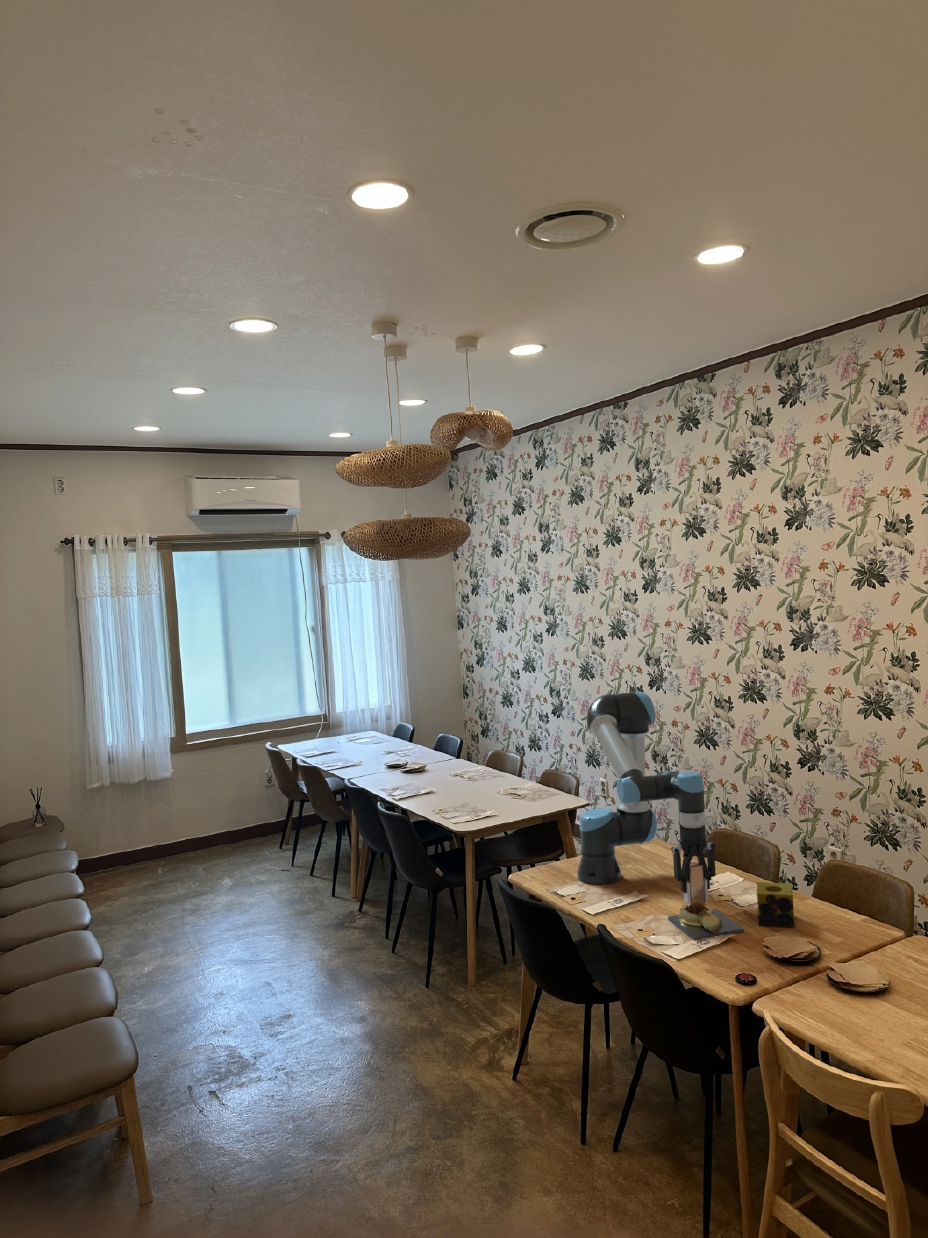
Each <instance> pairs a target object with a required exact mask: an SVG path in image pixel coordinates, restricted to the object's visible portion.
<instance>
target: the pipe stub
mask: <svg viewBox="0 0 928 1238" xmlns="http://www.w3.org/2000/svg"><path fill="white" fill-rule="evenodd" d="M687 881H688V882H689V883H690V897H691V904H690V905H688V911H689V912H690V913H695V914H699V912H701V911H702V910H705V905H706V902H705V893H704V873H703V865H702V864H700V863H699V862H697V861H691V863H690V869H689V874H688V880H687Z"/></svg>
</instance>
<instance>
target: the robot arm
mask: <svg viewBox="0 0 928 1238" xmlns="http://www.w3.org/2000/svg"><path fill="white" fill-rule="evenodd" d="M655 720H656V709H655V705H654V704H653V701H652V698H650V696H649V695H648V694H647V693H646V692H641V691H639V692H638V691H637V692H634V691H632V692H630V691H629V692H621V693H613V694H603V695H600V696H598V697H597V698H596V699H594V700H593V701H592V702H591V704H590V705H589V708H588V709H587V714H586V724H587V728H588V730H589V732H590V734H591V735H592V736H593V737H594V738H596V739H597V741H598V743H599V744H600V747H601V748H602V751H603V753H604V754H605V757H606V758H607V760H608V762H609V763H610V766H611V768H612V769H613V772H614V773H615V775H616V777H617V779H618V780H617V782H616V793H617V796H618V799H619V800H620V801H619V802H618V803H617V805H616V811H613V810H612V809H610V808H609V807H608V808H607V807H602V808H601V807H599V808H592V809H588V810H586V811H585V812H583V813H582V814H581V815H580V819H579V830H580V831H579V833H580V846H581V847H580V850H581V857H580V860H579V865H578V868H577V879H578V880H579V881H581V882H583V883H585V882H586V883H587V884H591V885H607V884H613V883H615V882H619V880H621V878H622V871H621V867H620V865H619V862H618V859H617V856H616V849H615V847H620V846H621V847H622V846H630V845H642V844H644V843H649V842H652V841H653V840H654V839H655V836H656V834H657V829H658V821H657V815H656V812H655V811H654V810H653V809H652V808H651V805H650V804H649V803H648V802H652V801H653V802H654V801H661V800H663V801H664V800H670V799H674V800H677V803H678V821H679V822H678V823H679V824H680V825H679V838H680V841H679V844H678V845H676V846H672V847H671V852H672V855H673V856H672V857H673V860H672V861H673V877H674V879H675V880H676V881H677V882H680V891H681V892H682V893H683V902H684V903H685V904H686V905H687V904H688V905H690V904H691V897H690V883H689V882H688V881H687V880H688V874H689V869H690V863H691V862H692V861H693V858H694V857H696V858H697V861H698V862H699V863H700V864H702V865H703V873H704V893H705V903H708V902H709V892H708V891H709V890H710V889H711V883H710V881H711V880H712V878H714V877H716V861H715V857H716V856H715V851H716V844H715V843H713V842H711V841H709V842H708V840H707V839H706V837H707V831H706V830H707V829H706V825H705V824H706V815H705V813H706V812H705V785H704V778H703V775H702V774H701V773H700V772H698V771H697V772H694V771H682V772H680V773H679V772H677V771H672V770H667V771H664V772H663V773H661V774H655V775H646V744H645V742H646V741H645V740H646V738H645V737H646V735H647V734H648V733H649V732H650V726H651V725H653V724H654V723H655ZM705 849H706V856H705V852H704V851H705ZM682 851H683V854H682ZM681 854H682V857H683V859H682V857H681Z"/></svg>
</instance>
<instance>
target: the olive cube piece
mask: <svg viewBox="0 0 928 1238" xmlns="http://www.w3.org/2000/svg"><path fill="white" fill-rule="evenodd" d="M792 887H793V886H792V883H790V882H787V883H785V882H765V881H764V882H762V881H759V882H758V881H757V882H756V897H757V899H756V900H757V902H756V904H757V919H758V926H760V927H772V928H786V929H794V928H795V913H794V898H793V889H792Z"/></svg>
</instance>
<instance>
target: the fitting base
mask: <svg viewBox="0 0 928 1238" xmlns="http://www.w3.org/2000/svg"><path fill="white" fill-rule="evenodd" d="M667 920H668V921H669V922H670V923H672V924H673V925H674V926H675V927H677V928H678V929H679V930H680V931H681V932H683V933H684V934H686V935H687V936H688V937H689V938H690V939H692V940H693V941H697V940H698V941H699V940H703V939H702V938H704V939H711V938H715V936H717V937H721V935H723V936H728V935H734V934H740V933H745V928H744V927H742V926H741V925H739V924H738V923H737V922H735V921H733V920H732V919H731V918H729V917H728V916H726V915H725V914H723V913H722V912H721V911H719V910H718V909H716V908H715V909H713V908H712V907H711V906H709V904H705V910H702V911H701V912H699V914H695V913H690V912H689V911H688V904H687V903H686V904H683V905H682V906H681V908H680V909H679V914H677V915H669V916H667Z"/></svg>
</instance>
